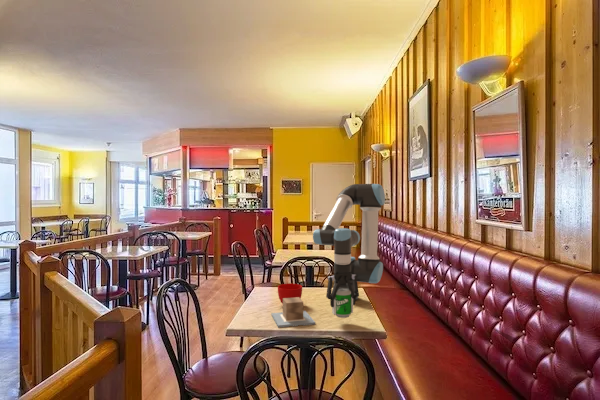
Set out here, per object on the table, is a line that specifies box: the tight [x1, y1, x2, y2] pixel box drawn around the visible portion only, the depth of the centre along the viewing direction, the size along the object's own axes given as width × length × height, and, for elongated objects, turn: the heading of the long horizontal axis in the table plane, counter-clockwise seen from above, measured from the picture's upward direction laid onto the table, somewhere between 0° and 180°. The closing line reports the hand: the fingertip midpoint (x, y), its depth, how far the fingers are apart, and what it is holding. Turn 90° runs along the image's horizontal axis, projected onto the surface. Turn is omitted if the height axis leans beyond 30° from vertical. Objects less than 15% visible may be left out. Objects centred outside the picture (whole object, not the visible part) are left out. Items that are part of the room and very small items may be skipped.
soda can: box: [335, 288, 352, 319], centre depth 166 cm, size 8×8×12 cm
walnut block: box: [282, 297, 304, 321], centre depth 171 cm, size 8×8×8 cm
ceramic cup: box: [277, 282, 303, 305], centre depth 195 cm, size 13×17×10 cm
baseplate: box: [271, 310, 316, 329], centre depth 171 cm, size 17×17×1 cm
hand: (342, 312), depth 166 cm, fingers closed on soda can, 7 cm apart
